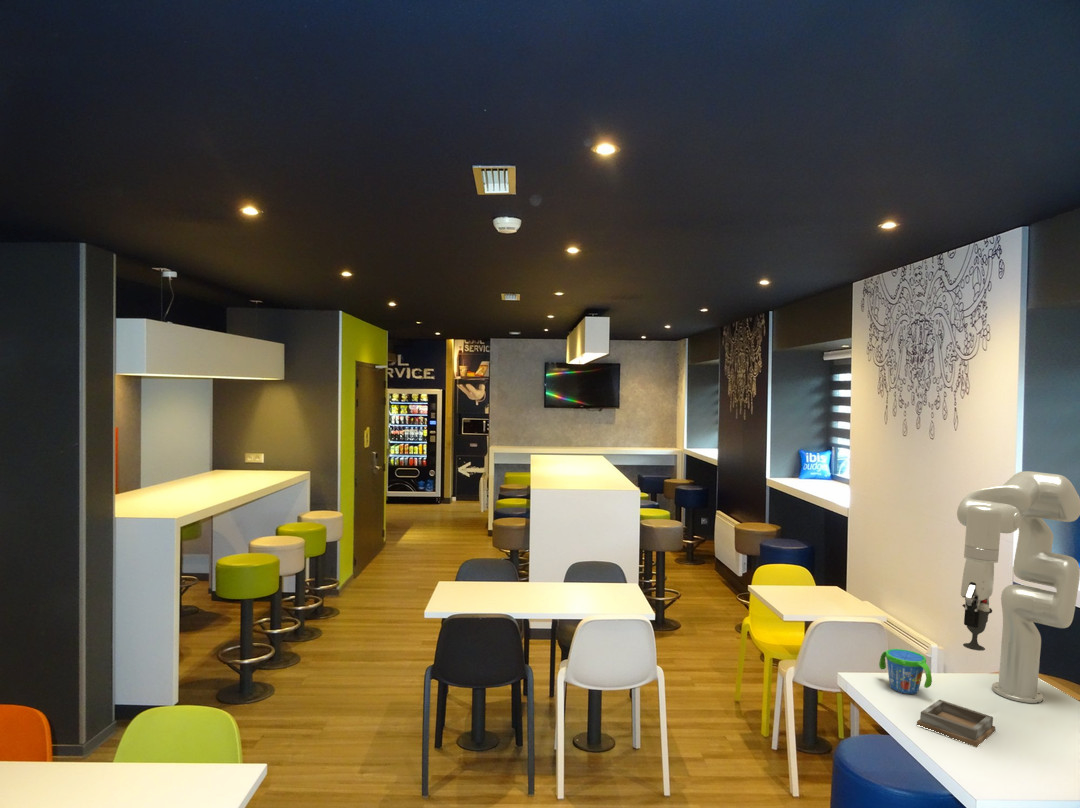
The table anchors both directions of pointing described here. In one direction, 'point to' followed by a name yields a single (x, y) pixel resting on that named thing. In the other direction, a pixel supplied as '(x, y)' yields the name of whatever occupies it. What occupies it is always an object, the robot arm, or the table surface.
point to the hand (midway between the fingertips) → (975, 623)
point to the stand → (957, 722)
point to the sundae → (983, 617)
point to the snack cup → (905, 670)
